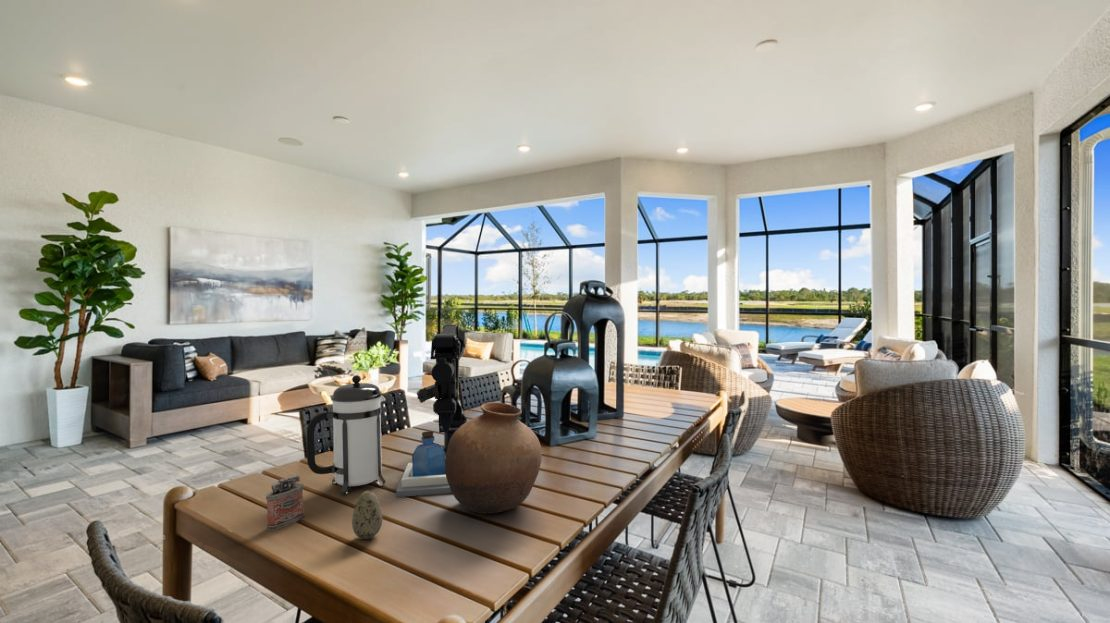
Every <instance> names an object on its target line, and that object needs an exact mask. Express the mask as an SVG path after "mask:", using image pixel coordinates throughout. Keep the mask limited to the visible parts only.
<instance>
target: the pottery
mask: <svg viewBox="0 0 1110 623" xmlns="http://www.w3.org/2000/svg"><path fill="white" fill-rule="evenodd" d="M480 409H481V412H483V413H482V414H480V415H477V416H475V417H473V418H471V419H469V420H467V422H466V423H464V424H463V425H462V426H461V427H459V428H458V429H457V430H456V431H455V433H454V434H453V435H452V437H451V439H450V441H449V444H448V447H447V452H445V473H446V478H447V481H448V484H449V487H450V489H451V492H452V493H451V494H452V496H454V498H455V500H456V501H457V502H458V503H459V504H460V505H461V506H463V507H465V508H466V509H468V510H470V511H472V512H475V513H479V514H498V513H501V512H505V511H509V510H512V509H514V508H516V507H518V506H520V505H521V504H523V502H525V500H526V499H528V496H529V495H530V493H531V491H532V490H533V486H534V484H535V482H536V480H537V478H538V476H539V473H540V470H541V464H542V457H543V454H542V453H543V452H542V445H541V443H540V440H539V438H538V437H537V434H536V433H535V432H534V431H533V430H532V429H531V428H530V427H529V426H528V425H526V424H525V423H524V422H522V421H520V420H519V419H518V417H520V416H521V414H522V409H521V408H519V407H517V406H515V405H511V404H508V403H502V402H494V401H493V402H492V401H491V402H490V401H489V402H487V403H486V402H485V403H483V404H482V405H481V406H480Z"/></svg>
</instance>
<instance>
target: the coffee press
mask: <svg viewBox="0 0 1110 623" xmlns="http://www.w3.org/2000/svg"><path fill="white" fill-rule="evenodd" d="M361 380H362V378H361V376H360V375H358V374H357V375H353V376H352V379H351V381H352V382H353V383H349V384H344V385H340V386H338V387H336V389H334V391H333V393H332V395H330V400H331V402H332V409H331V411H329V412H325V411H324V412H321V413H318V414H316V415H314V416H313V417H312V418H311V419H310V421H309V423H308V424H307V428H306V433H305V434H306V437H305V438H306V440H305V441H306V462H307V465H308V468H309V469H310V471H311V472H313V473H315V474H318V475H326V474H334V477H333V479H331V483H332V484H333V482H335V481H336V482H337V484H338V485H340V486H342V487H341V491H340V492H341V495H346V492H349V493H350V490H351V489H352V487H359V486H364V485H367V484H370V483H375V484H376V485H378V486H379V487H383V485H385V484H386V479H385V478H384V477H383V474H382V472H383V471H382V470H383V469H382V468H383V466H382V464H383V463H382V459H383V458H382V426H381V425H382V418H381V416H382V415H381V414H382V404H381V403H382V402H386V397H385V396H383V395H382V394H383V392H382V391H381V390H380V388H379V387H378V386H377V385H375V384H373V383H370V382H369V383H367V382H366V383H365V382H362V383H361ZM327 419H332V423H333V424H332V429H333V433H332V434H333V437H332V438H333V463H332V464H331V465H330V466H318V465H317V464H316V456H315V455H316V453H315V451H316V450H315V449H316V447H315V432H316V430H315V429H316V427H317V425H318V424H319V423H320V422H323V421H324V420H327ZM379 479H380V480H379ZM381 483H382V484H383V485H382V486H380V484H381Z"/></svg>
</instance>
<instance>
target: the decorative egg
mask: <svg viewBox="0 0 1110 623" xmlns="http://www.w3.org/2000/svg"><path fill="white" fill-rule="evenodd" d="M382 524H383V512H382V507H381V504H380V502H379V499H378V496H376V494H375V493H374V492H373V491H372V490H371V491H370V490H365V491H363V492H362V493H361V494H360V495H359V497H358V498H357V500H356V502H355V505H354V509H353V512H352V517H351V525H352V530H353V533H354V534H355V535H356V537H358V538H359V539H362V540H369V539H372V538H374V537H375V536H376V535H377V534H378V533H379V531H380V530H381V527H382Z"/></svg>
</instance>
